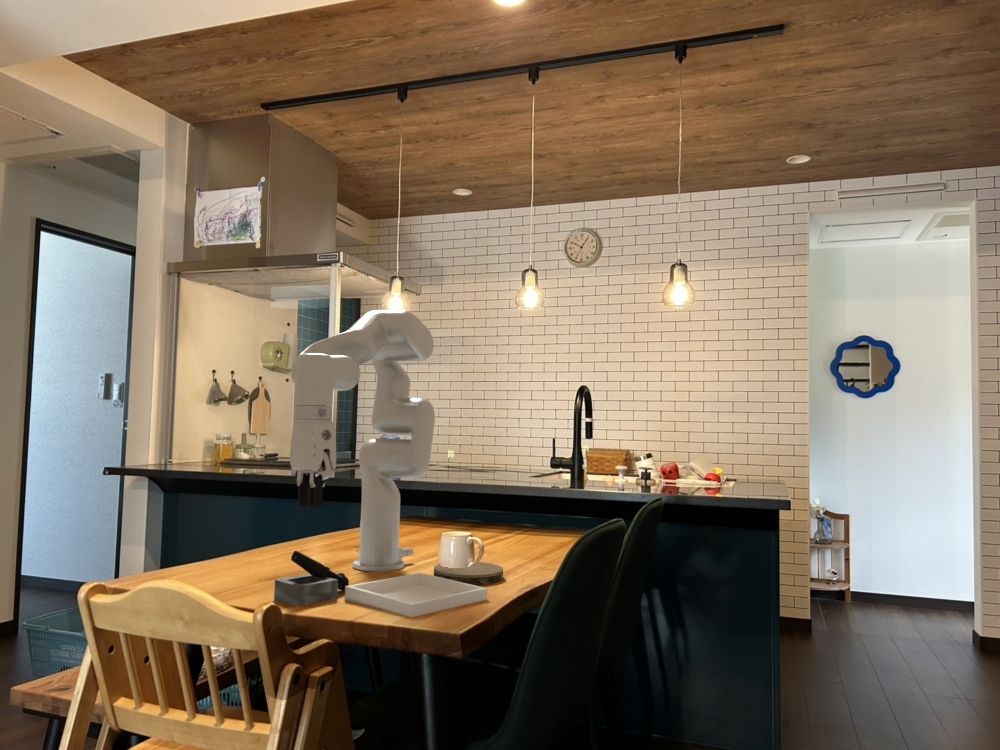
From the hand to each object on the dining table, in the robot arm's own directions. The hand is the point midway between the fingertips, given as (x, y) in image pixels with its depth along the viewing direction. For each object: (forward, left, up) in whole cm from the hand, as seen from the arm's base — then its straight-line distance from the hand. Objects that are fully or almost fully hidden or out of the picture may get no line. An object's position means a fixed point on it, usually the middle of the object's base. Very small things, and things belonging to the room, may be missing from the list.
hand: (310, 505), depth 154 cm
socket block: (0, 0, -19) cm, 19 cm away
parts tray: (-15, +16, -19) cm, 29 cm away
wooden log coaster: (-38, +8, -19) cm, 43 cm away
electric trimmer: (+4, -1, -11) cm, 12 cm away
